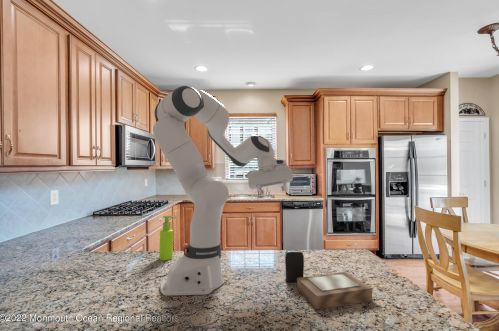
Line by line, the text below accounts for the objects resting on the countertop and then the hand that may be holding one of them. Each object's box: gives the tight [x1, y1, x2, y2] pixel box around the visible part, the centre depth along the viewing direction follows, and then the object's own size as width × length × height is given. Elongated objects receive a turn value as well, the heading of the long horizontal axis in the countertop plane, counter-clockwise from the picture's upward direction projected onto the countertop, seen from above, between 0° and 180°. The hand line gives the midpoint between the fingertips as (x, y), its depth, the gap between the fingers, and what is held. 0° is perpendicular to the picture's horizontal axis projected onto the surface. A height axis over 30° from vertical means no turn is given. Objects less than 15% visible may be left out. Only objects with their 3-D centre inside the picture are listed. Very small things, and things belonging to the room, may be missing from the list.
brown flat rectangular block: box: [296, 271, 373, 310], centre depth 81 cm, size 20×13×4 cm, turn 106°
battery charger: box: [284, 249, 305, 284], centre depth 91 cm, size 7×4×11 cm, turn 87°
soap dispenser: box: [158, 215, 176, 261], centre depth 114 cm, size 6×7×20 cm
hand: (273, 192), depth 105 cm, fingers open, 8 cm apart
